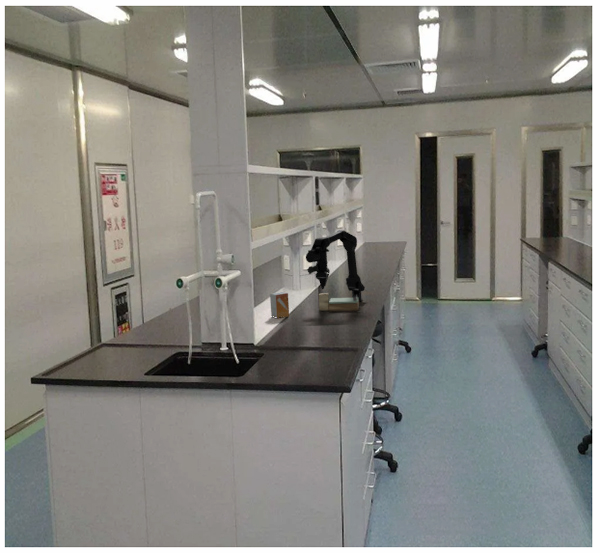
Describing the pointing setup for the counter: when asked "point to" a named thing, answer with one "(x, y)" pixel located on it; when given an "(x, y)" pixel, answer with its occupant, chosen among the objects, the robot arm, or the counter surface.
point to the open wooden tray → (344, 307)
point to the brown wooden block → (324, 301)
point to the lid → (344, 300)
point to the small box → (279, 304)
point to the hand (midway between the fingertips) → (323, 287)
